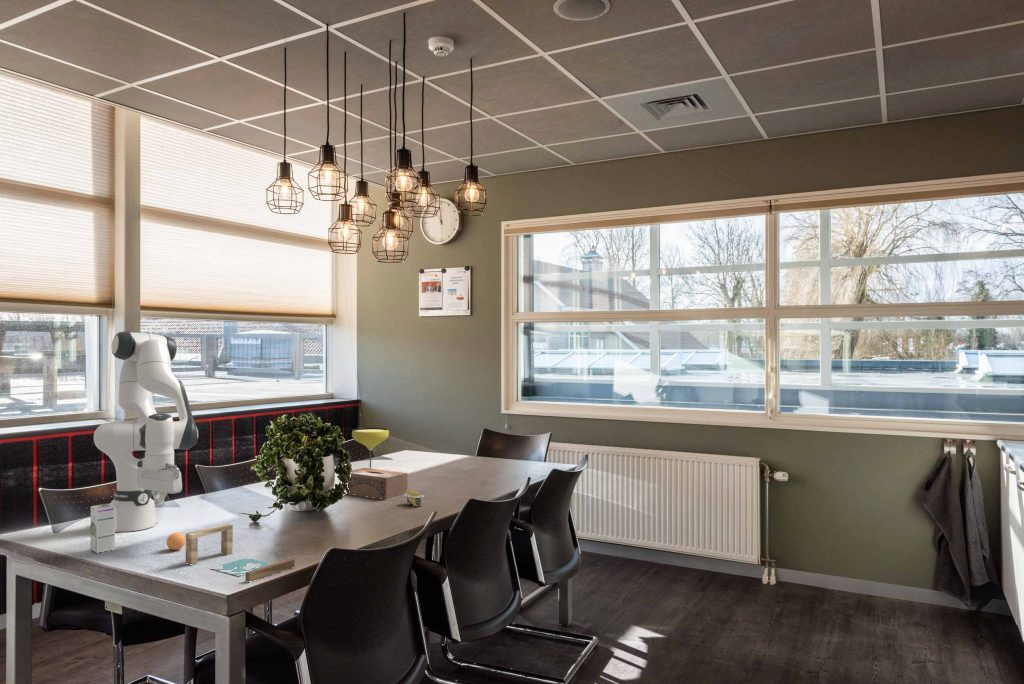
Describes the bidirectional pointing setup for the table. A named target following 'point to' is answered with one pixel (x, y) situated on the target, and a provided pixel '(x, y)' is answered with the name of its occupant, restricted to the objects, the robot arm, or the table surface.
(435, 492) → the table surface
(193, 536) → the bridge
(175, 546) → the ball
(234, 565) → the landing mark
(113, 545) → the syrup box
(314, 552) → the table surface
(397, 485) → the tissue box cover
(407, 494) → the plastic food container
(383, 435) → the cocktail glass
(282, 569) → the stopper wall
